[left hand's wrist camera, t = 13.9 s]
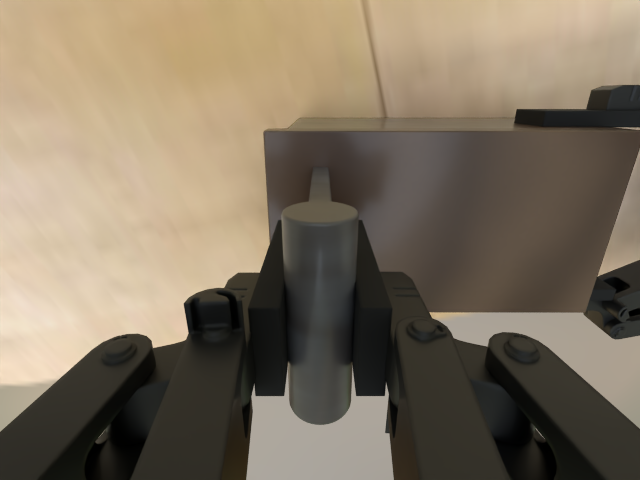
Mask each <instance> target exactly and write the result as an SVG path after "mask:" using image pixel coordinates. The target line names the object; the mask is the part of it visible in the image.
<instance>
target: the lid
mask: <svg viewBox="0 0 640 480" xmlns="http://www.w3.org/2000/svg"><path fill="white" fill-rule="evenodd" d="M263 133H264V150H265V168H266V185H267V202H268V219H269V236H270V242H271V239H272V236H273V234H274V231H275V228H276V225H277V222H278V220H282V240H283V263H284V281H285V298H286V321H287V345H288V378H289V400H290V406H291V408H292V410H293V412H294V413H295V414H296V415H297V416H298V417H299V418H300V419H302V420H303V421H305V422H308V423H311V424H316V425H324V424H329V423H333V422H335V421H337V420H339V419H340V418H342V417H343V416H344V415H345V413H346V412H347V411H348V409H349V407H350V403H351V385H352V352H353V329H354V305H355V282H356V268H357V244H358V221H359V220H362V221H363V224H364V227H365V230H366V233H367V235H368V238H369V241H370V244H371V247H372V250H373V253H374V256H375V259H376V262H377V265H378V267H379V270H380V272H403V273H405V274H406V275H407V276H409V277H410V278H411V279H412V280H413V282H414V284H415V286H416V289H417V290H418V292H419V294H420V296H421V297H422V299H423V301H424V303H425V305H426V307H427V309H428V311H429V312H586V309H587V306H588V303H589V300H590V297H591V294H592V290H593V287H594V284H595V281H596V278H597V275H598V272H599V269H600V266H601V263H602V260H603V257H604V254H605V251H606V248H607V245H608V242H609V239H610V236H611V233H612V230H613V227H614V224H615V221H616V218H617V215H618V212H619V209H620V206H621V203H622V200H623V197H624V194H625V191H626V188H627V185H628V182H629V179H630V176H631V173H632V170H633V167H634V164H635V161H636V158H637V155H638V151H639V148H640V130H632V129H267V130H265V131H264V132H263Z"/></svg>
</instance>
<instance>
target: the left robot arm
mask: <svg viewBox="0 0 640 480" xmlns="http://www.w3.org/2000/svg"><path fill="white" fill-rule="evenodd" d="M184 308H185V314H186V320H187V326H188V332H189V334H188V337H187V339H186V340H185V341H182V342H179V343H175V344H171V345H166V346H162V347H157V348H153V346H152V341H151V340H150V339H149V338H148V337H147V336H144V335H140V334H126V335H122V336H117V337H114V338H112V339H109V340H107V341H105V342H103V343H101V344H100V345H98V346H97V347H95V348H94V349H93V350H91V351H90V352H89V353H88V354H87V355H86V356H85V357H84V358H83V359H81V360H80V361H79V362H78V363H77V364H76V365H75V366H74V367H72V368H71V369H70V370H69V371H68V372H67V373H66V374H65V375H63V376H62V377H61V378H60V379H59V380H58V381H57V382H56V383H54V384H53V385H52V386H51V387H50V388H49V389H48V390H47V391H46V392H44V393H43V394H42V395H41V396H40V397H39V398H38V399H37V400H35V401H34V402H33V403H32V404H31V405H30V406H29V407H28V408H26V409H25V410H24V411H23V412H22V413H21V414H20V415H19V416H18V417H16V418H15V419H14V420H13V421H12V422H11V423H10V424H9V425H7V426H6V427H5V428H4V429H3V430H2V431H1V432H0V480H246V475H247V465H248V454H249V444H250V433H251V423H252V412H253V410H252V400H251V395H252V391H253V386H254V383H255V394H256V396H284V392H285V384H286V375H287V367H288V345H287V321H286V298H285V281H284V263H283V240H282V220H278V222H277V225H276V228H275V231H274V234H273V236H272V239H271V242H270V245H269V248H268V251H267V254H266V257H265V260H264V263H263V266H262V268H261V271H260V273H237V274H236V275H235V276H233V277H232V278H231V279H229V280H228V282H227V284H226V286H225V288H214V289H207V290H204V291H201V292H198V293H196V294H194V295H193V296H191V297H189V298H188V299H187V300H186V302H185V303H184ZM352 365H353V373H354V381H355V390H356V396H385V386H386V383H387V388H388V392H389V400H388V410H387V420H386V431H385V433H390V443H391V453H392V464H393V474H394V480H640V429H639V428H638V427H637V426H636V425H635V424H634V423H633V422H631V421H630V420H629V419H628V418H627V417H626V416H625V415H624V414H622V413H621V412H620V411H619V410H618V409H617V408H616V407H614V406H613V405H612V404H611V403H610V402H609V401H608V400H607V399H605V398H604V397H603V396H602V395H601V394H600V393H599V392H598V391H596V390H595V389H594V388H593V387H592V386H591V385H590V384H588V383H587V382H586V381H585V380H584V379H583V378H582V377H581V376H579V375H578V374H577V373H576V372H575V371H574V370H573V369H571V368H570V367H569V366H568V365H567V364H566V363H565V362H564V361H562V360H561V359H560V358H559V357H558V356H557V355H556V354H555V353H553V352H552V351H551V350H550V349H549V348H548V347H546V346H545V345H543V344H542V343H540V342H539V341H537V340H535V339H533V338H530V337H528V336H526V335H522V334H518V333H507V332H502V333H498V334H495V335H493V336H492V337H491V338H490V339H489V343H488V347H486V346H481V345H476V344H471V343H467V342H463V341H459V340H457V339H454V338H453V336H452V334H451V332H450V331H449V329H448V328H447V326H445V325H444V324H442V323H441V322H439V321H437V320H435V319H432V317H431V315H430V313H429V311H428V309H427V307H426V305H425V303H424V301H423V299H422V297H421V296H420V294H419V292H418V290H417V289H416V286H415V284H414V282H413V280H412V279H411V278H410V277H409V276H407V275H406V274H405V273H403V272H380V270H379V267H378V265H377V262H376V259H375V256H374V253H373V250H372V247H371V244H370V241H369V238H368V235H367V233H366V230H365V227H364V224H363V221H362V220H359V221H358V244H357V268H356V282H355V305H354V329H353V352H352ZM535 428H536V429H537V430H538V431H539V432H540V433H541V435H542V436H543V437H544V438H545V439H544V438H543V437H542V436H541V435H540V434H539V433H538V431H537V430H536V429H535ZM104 430H105V431H104ZM103 431H104V432H103ZM102 433H103V434H102ZM101 434H102V435H101ZM100 435H101V436H100ZM99 436H100V437H99Z"/></svg>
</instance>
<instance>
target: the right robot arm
mask: <svg viewBox="0 0 640 480" xmlns="http://www.w3.org/2000/svg"><path fill="white" fill-rule="evenodd" d="M514 123H518V124H525V125H533V126H541V127H640V85H617V86H601V87H599V88H596V89H593V90H591V94H590V97H589V101H588V105H587V109H517V111H516V116H515V121H514ZM583 313H584V315H585V316H586V317H587V318H588V319H590V320H591V321H592V322H593V323H594V324H596V325H597V326H598V327H599V328H600V329H602V330H603V331H604V332H605V333H607V334H608V335H609V336H610V337H611V338H613V339H622V338H628V337H633V336H639V335H640V260H638V261H636V262H633V263H631V264H628V265H626V266H623V267H621V268H618V269H616V270H613V271H611V272H608V273H606V274H603V275H601V276H598V277H597V278H596V281H595V284H594V287H593V290H592V294H591V297H590V300H589V303H588V306H587V309H586V312H583Z"/></svg>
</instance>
